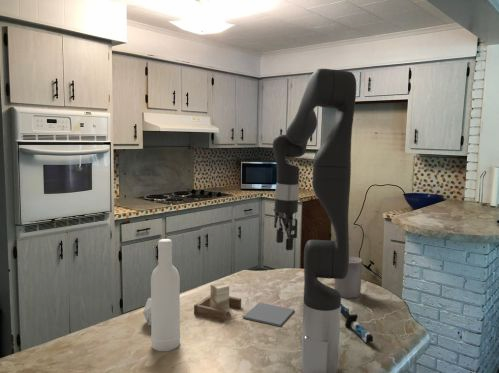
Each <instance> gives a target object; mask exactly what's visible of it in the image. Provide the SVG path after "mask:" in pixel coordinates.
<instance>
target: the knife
mask: <svg viewBox="0 0 499 373" xmlns="http://www.w3.org/2000/svg"><path fill="white" fill-rule="evenodd" d="M340 315H342V317H344V318H345V319H346V320H345V324H344V326H345V327H346V328H350V327H351V328H352V330H353V331H355V333H356V334H357V335H358V336H359V337H360V338H361V339H362V340H363V341H364V342H365V343H372V342H374V337H373V335H372V334H371V333H370V332H369V331H368V330H367V329H366V328H364V327H363V326H362V325H361V324H360V323H359V322H357V320H358V317H359V316H358V314H350V309H349V308H347V307H345V306H344V305H343V304H342V303H341V312H340Z"/></svg>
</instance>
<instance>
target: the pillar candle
mask: <svg viewBox="0 0 499 373" xmlns="http://www.w3.org/2000/svg"><path fill="white" fill-rule="evenodd" d="M362 266H363V259H362V258H360V257H358V256H355V255H350V254H349V268H348V273H347V276H346V277H345V278H344V279H334V288H333V289H335V290H336V291H338V292H339V293H340V295H341V298H344V299H354V298H355V299H356V298H359V297H360V296H361V288H362V287H361V285H362V272H363V271H362V268H363V267H362Z"/></svg>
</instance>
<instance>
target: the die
mask: <svg viewBox="0 0 499 373" xmlns="http://www.w3.org/2000/svg"><path fill="white" fill-rule="evenodd" d="M142 314H143V316H144V318H145V321H146V323H147V325H148V326H149V327H151V297H149V298H147V301H146V303H145V305H144V308H143V310H142Z"/></svg>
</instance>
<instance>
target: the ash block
mask: <svg viewBox="0 0 499 373" xmlns="http://www.w3.org/2000/svg"><path fill="white" fill-rule="evenodd" d="M210 295H211V301H210V306H209V307H212V308H216V309H221V310H225V311H226V313H229V312H230V306H229V296H230V285H229V284H227V283H225V282H222V281H221V282H219V281H218V282H216V283H212V284H210Z"/></svg>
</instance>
